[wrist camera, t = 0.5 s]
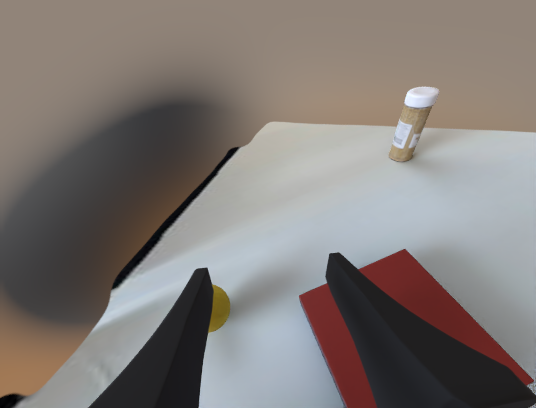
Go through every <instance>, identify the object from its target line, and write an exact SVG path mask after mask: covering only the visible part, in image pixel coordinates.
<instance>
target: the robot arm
mask: <svg viewBox="0 0 536 408" xmlns="http://www.w3.org/2000/svg"><path fill="white" fill-rule="evenodd" d="M325 277H326V280H327V283H328V286H329V289H330V292H331V294H332V296H333V298H334V301H335V303H336V305H337V307H338V309H339V311H340V313H341V315H342V317H343V320H344V322H345V324H346V326H347V328H348V330H349V332H350V334H351V337H352V339H353V341H354V344H355V347H356V349H357V352H358V354H359V357H360V360H361V362H362V365H363V368H364V371H365V374H366V376H367V379H368V382H369V385H370V388H371V391H372V394H373V397H374V400H375V403H376V406H377V408H528V407H530V406H532V405H534V404H535V403H536V395H535V394H534V393H533V392H532V391H531V390H530V389H529V388H528V387H527V386H526V385H525V384H524V383H523V382H522V381H521V380H520V379H519V378H518V377H517V376H516V375H515V374H514V373H513V371H511V370H510V369H509V368H508V367H507V366H505V365H503V364H501V363H499V362H497V361H496V360H494V359H492V358H490V357H488V356H486V355H484V354H482V353H480V352H478V351H476V350H474V349H472V348H471V347H469V346H467V345H465V344H463V343H462V342H460V341H458V340H456V339H455V338H453V337H451V336H449V335H448V334H446V333H444V332H443V331H441V330H439V329H438V328H436V327H434V326H433V325H431V324H430V323H428V322H426V321H425V320H423V319H422V318H420V317H419V316H417V315H416V314H414V313H413V312H411V311H410V310H408V309H407V308H405V307H404V306H403V305H401V304H400V303H398V302H397V301H396V300H394V299H393V298H391V297H390V296H389V295H388V294H386V293H385V292H384V291H383V290H381V289H380V288H379V287H378V286H376V285H375V284H374V283H373V282H372V281H370V280H369V279H368V278H367V277H366V276H365V275H364V274H362V273H361V272H360V271H359V270H358V269H357V268H356V267H355V266H353V265H352V264H351V263H350V262H349V261H348V260H347V259H346V258H345V257H344V256H343V255H341V254H340V253H330V254H329V259H328V265H327V270H326V276H325ZM213 294H214V290H213V286H212V283H211V279H210V275H209V272H208V268H199V269H196V270H195V271H194V273H193V275H192V276H191V278H190V280H189V282H188V283H187V285H186V287H185V288H184V290H183V292H182V293H181V295H180V296H179V298H178V299H177V301H176V303H175V304H174V306H173V307H172V309H171V310H170V312H169V313H168V314H167V316H166V317H165V319H164V320H163V321H162V323H161V324H160V326H159V327H158V328H157V330H156V331H155V332H154V334H153V335H152V336H151V338H150V339H149V340H148V341H147V343H146V344H145V345H144V346H143V348H142V349H141V350H140V351H139V352H138V354H137V355H136V356H135V357H134V358H133V360H132V361H131V362H130V363H129V364H128V365H127V367H126V368H125V369H124V370H123V371H122V372H121V373H120V375H119V376H118V377H117V378H116V379H115V380H114V381H113V382H112V383H111V384H110V385H109V386H108V387H107V388H106V390H105V391H104V392H103V393H102V394H101V395H100V396H99V397H98V398H97V399H96V400H95V401H94V402H93V403H92V404H91V405H90V406H89V407H88V408H198V407H199V396H200V385H201V375H202V366H203V359H204V352H205V347H206V341H207V336H208V331H209V325H210V320H211V314H212V307H213Z"/></svg>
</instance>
